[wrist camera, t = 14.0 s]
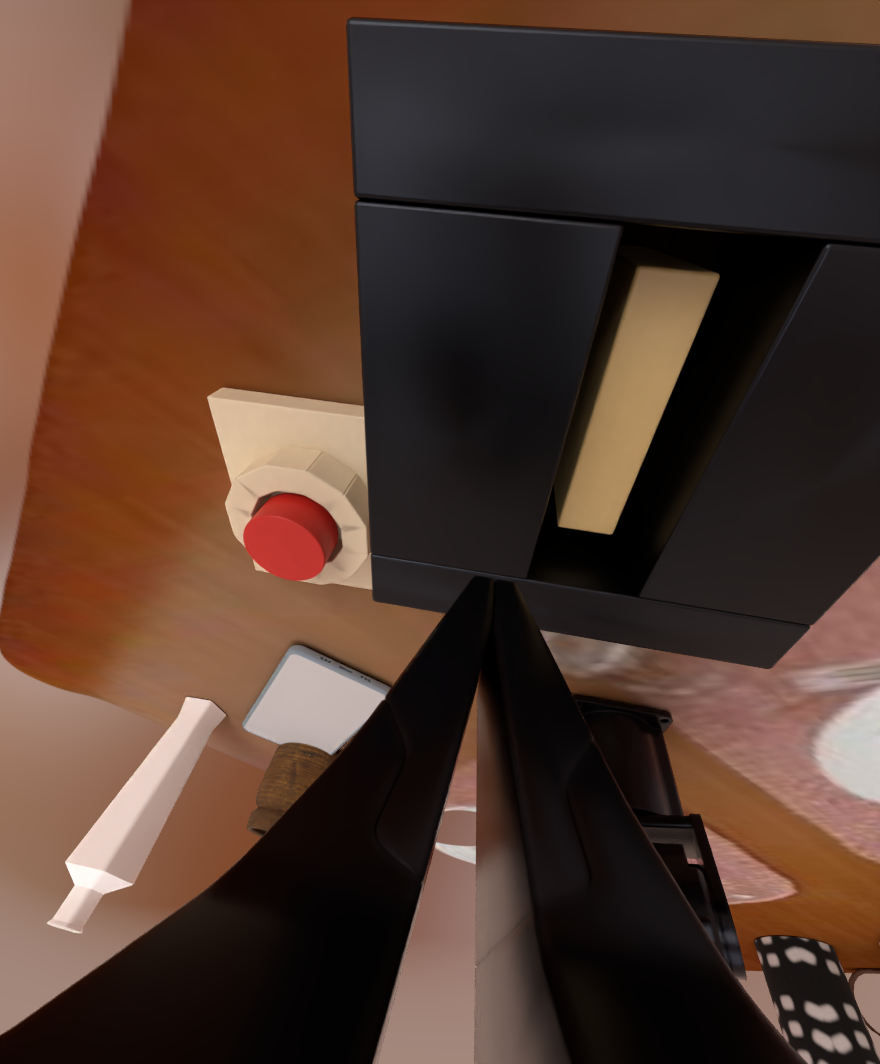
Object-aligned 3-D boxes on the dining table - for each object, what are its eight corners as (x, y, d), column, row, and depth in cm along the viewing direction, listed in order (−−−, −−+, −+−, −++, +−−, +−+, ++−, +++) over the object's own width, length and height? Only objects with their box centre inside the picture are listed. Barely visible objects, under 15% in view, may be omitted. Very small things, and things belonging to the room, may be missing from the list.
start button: (255, 486, 18) (233, 509, 17) (335, 499, 18) (319, 523, 16) (270, 549, 20) (252, 574, 19) (341, 561, 20) (328, 587, 19)
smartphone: (396, 698, 30) (323, 764, 39) (399, 686, 31) (327, 753, 40) (289, 648, 28) (238, 728, 37) (295, 636, 29) (244, 718, 38)
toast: (595, 242, 13) (637, 265, 8) (647, 246, 13) (723, 273, 8) (548, 433, 17) (557, 527, 12) (587, 438, 17) (613, 536, 12)
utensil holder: (276, 745, 41) (201, 906, 32) (288, 727, 37) (205, 906, 28) (332, 767, 42) (273, 929, 33) (350, 751, 38) (288, 932, 29)
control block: (222, 387, 18) (178, 413, 16) (400, 410, 18) (381, 441, 15) (265, 556, 25) (238, 593, 22) (399, 578, 24) (385, 619, 22)
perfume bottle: (191, 717, 40) (53, 928, 28) (173, 692, 37) (13, 913, 26) (235, 725, 40) (113, 943, 28) (221, 700, 37) (79, 930, 25)
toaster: (438, 112, 12) (342, 14, 6) (888, 145, 11) (1360, 66, 5) (421, 475, 19) (371, 602, 13) (688, 514, 18) (770, 671, 12)
